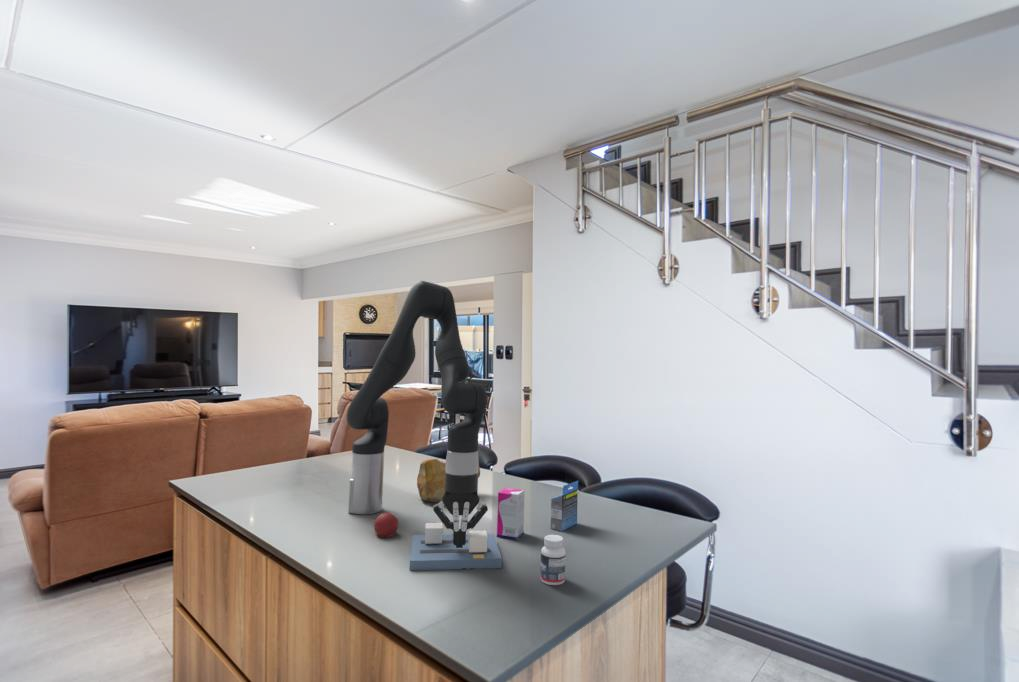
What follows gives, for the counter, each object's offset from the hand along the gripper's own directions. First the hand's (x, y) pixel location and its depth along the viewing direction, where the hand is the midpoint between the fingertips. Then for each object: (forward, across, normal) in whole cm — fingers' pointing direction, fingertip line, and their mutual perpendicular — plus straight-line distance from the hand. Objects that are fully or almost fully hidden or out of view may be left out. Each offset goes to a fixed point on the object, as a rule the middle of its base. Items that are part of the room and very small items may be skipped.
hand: (459, 546), depth 117 cm
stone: (+3, -3, +55) cm, 55 cm away
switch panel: (+3, -1, +3) cm, 5 cm away
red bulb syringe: (+3, -19, +17) cm, 26 cm away
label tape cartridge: (+3, +30, +22) cm, 38 cm away
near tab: (+1, +4, 0) cm, 4 cm away
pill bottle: (+3, +19, -12) cm, 23 cm away
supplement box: (+3, +14, +16) cm, 22 cm away
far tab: (+1, -6, +6) cm, 9 cm away
